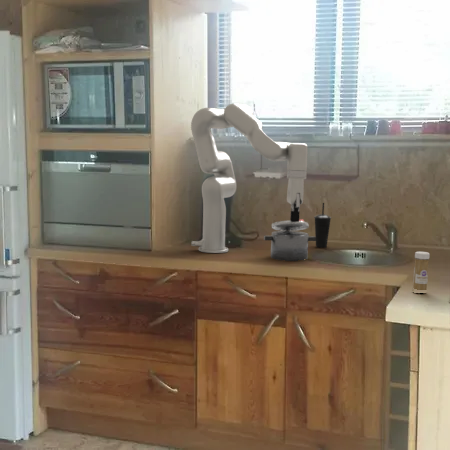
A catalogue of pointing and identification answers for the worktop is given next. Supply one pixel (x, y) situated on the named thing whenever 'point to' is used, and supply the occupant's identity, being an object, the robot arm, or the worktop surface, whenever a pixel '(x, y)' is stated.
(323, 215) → the drinking cup
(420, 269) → the sprinkles bottle
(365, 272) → the worktop surface
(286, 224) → the lid
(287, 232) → the cooker pot
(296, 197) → the robot arm
